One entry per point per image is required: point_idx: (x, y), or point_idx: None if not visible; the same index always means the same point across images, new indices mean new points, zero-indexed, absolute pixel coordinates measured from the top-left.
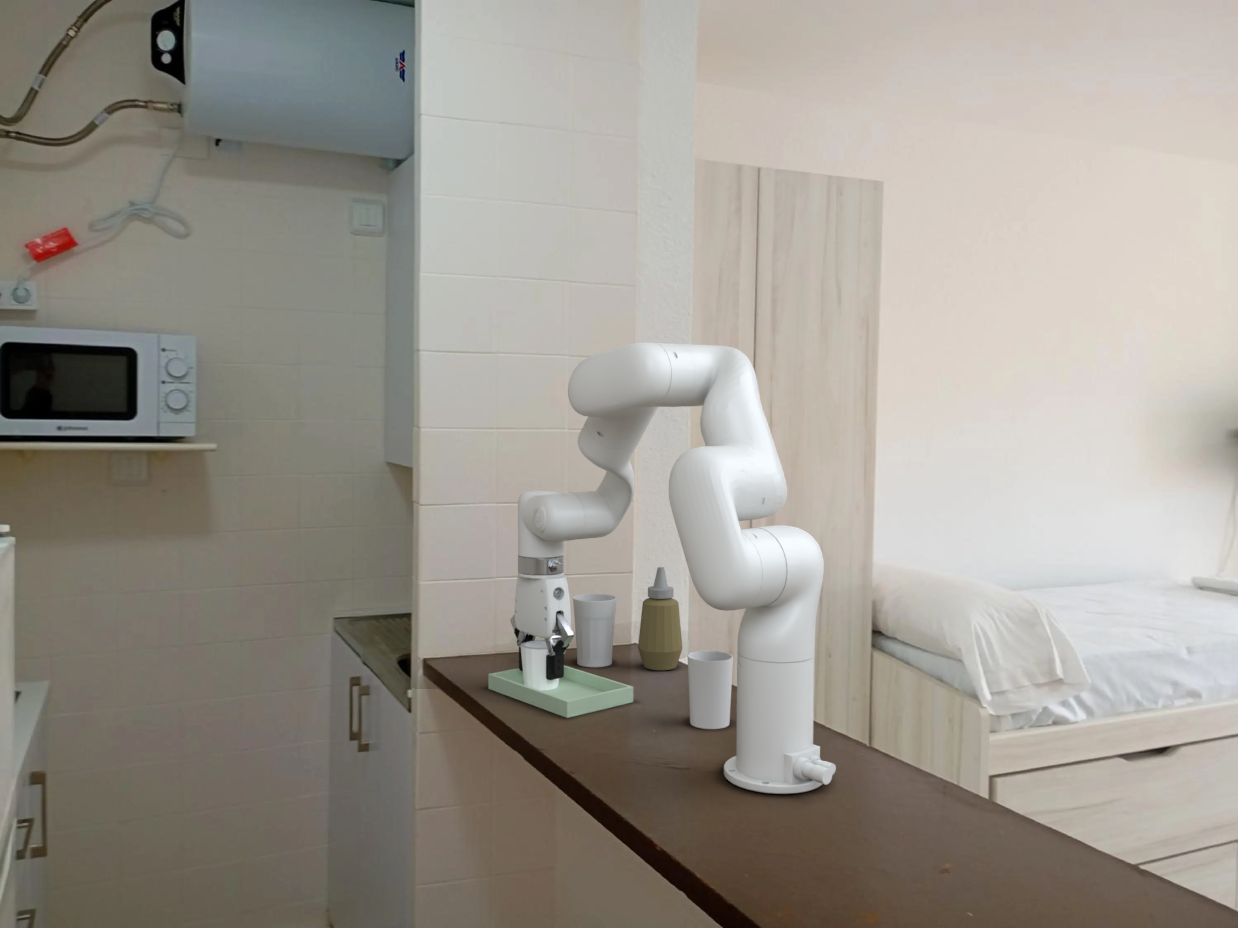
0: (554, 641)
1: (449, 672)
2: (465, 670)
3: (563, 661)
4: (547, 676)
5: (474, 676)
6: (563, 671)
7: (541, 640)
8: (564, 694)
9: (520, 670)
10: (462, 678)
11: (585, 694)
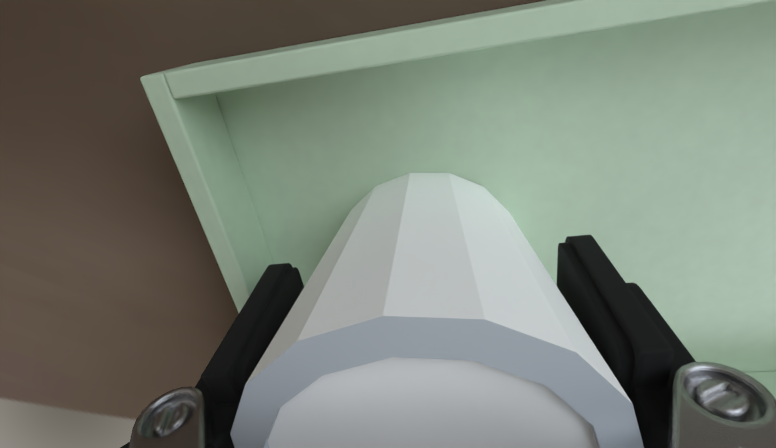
0: (399, 356)
1: (32, 392)
2: (6, 345)
3: (636, 299)
4: None
5: (110, 356)
6: (602, 252)
7: (276, 413)
8: (644, 237)
9: None
10: (130, 394)
11: (743, 142)
